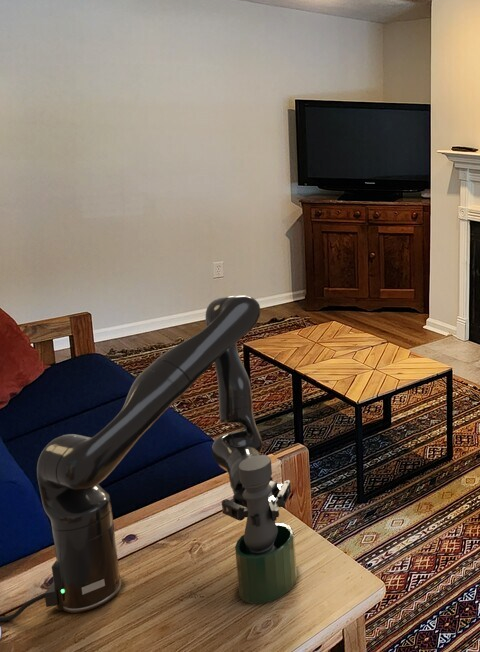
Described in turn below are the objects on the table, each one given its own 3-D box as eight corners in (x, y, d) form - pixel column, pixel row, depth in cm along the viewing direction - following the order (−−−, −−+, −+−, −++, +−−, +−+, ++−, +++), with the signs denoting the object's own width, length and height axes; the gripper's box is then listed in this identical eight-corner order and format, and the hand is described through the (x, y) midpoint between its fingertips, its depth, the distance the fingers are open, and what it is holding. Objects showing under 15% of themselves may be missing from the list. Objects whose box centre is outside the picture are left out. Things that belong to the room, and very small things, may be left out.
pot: (233, 608, 119) (229, 562, 117) (245, 571, 129) (241, 528, 127) (292, 597, 122) (289, 552, 120) (299, 562, 132) (296, 519, 130)
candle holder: (285, 564, 128) (277, 453, 124) (274, 586, 122) (264, 470, 118) (255, 565, 128) (245, 454, 123) (241, 587, 122) (231, 471, 117)
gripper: (212, 473, 130) (224, 515, 116) (283, 452, 138) (302, 489, 124) (215, 505, 131) (228, 550, 117) (285, 483, 139) (304, 523, 125)
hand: (266, 519), depth 121 cm, fingers closed on candle holder, 2 cm apart
